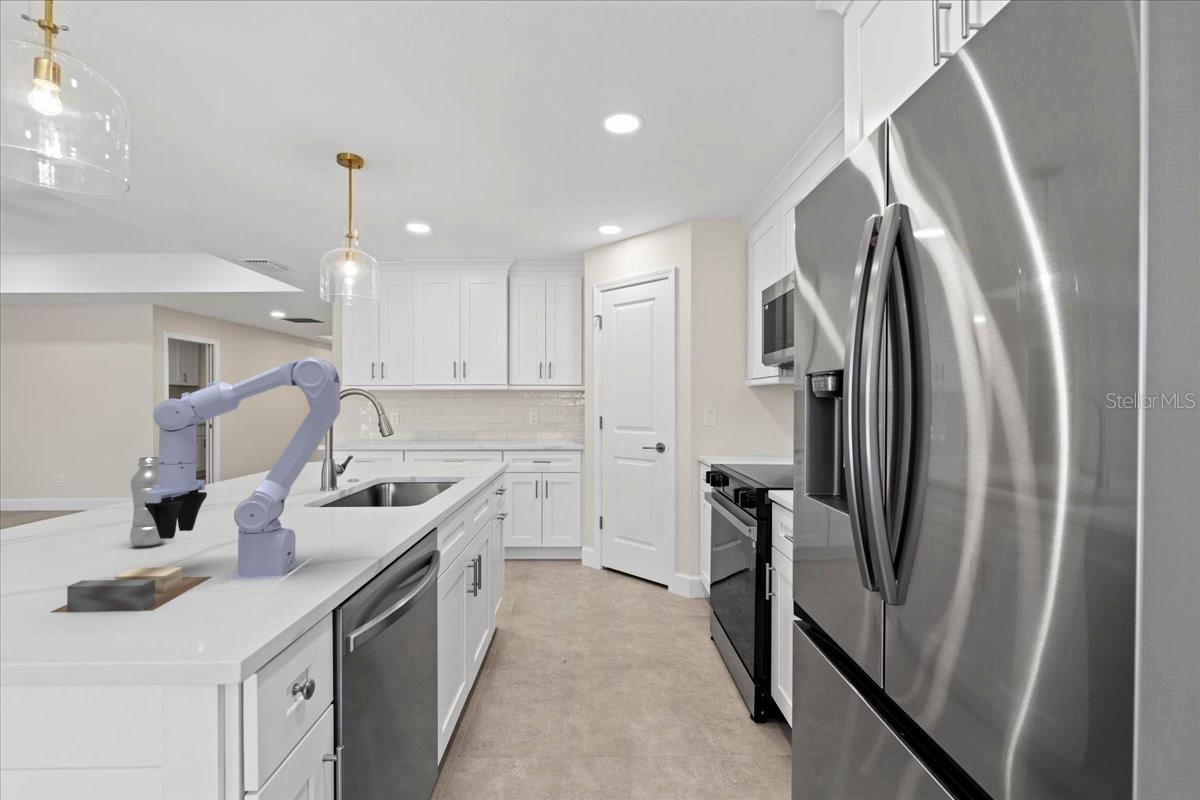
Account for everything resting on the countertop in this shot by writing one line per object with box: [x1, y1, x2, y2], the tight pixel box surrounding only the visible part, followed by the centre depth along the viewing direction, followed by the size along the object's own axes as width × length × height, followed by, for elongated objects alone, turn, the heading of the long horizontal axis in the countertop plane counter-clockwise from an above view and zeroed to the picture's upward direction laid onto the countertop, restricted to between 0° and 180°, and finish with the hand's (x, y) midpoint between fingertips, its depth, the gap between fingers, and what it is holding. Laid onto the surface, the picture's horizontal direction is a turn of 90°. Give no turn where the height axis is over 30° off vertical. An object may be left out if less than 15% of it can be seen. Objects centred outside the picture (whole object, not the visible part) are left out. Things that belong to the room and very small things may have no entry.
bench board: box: [49, 576, 212, 614], centre depth 99 cm, size 15×17×5 cm
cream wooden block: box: [114, 566, 184, 593], centre depth 102 cm, size 8×5×3 cm, turn 96°
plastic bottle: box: [129, 456, 165, 547], centre depth 131 cm, size 6×7×20 cm
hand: (176, 534), depth 109 cm, fingers open, 5 cm apart
